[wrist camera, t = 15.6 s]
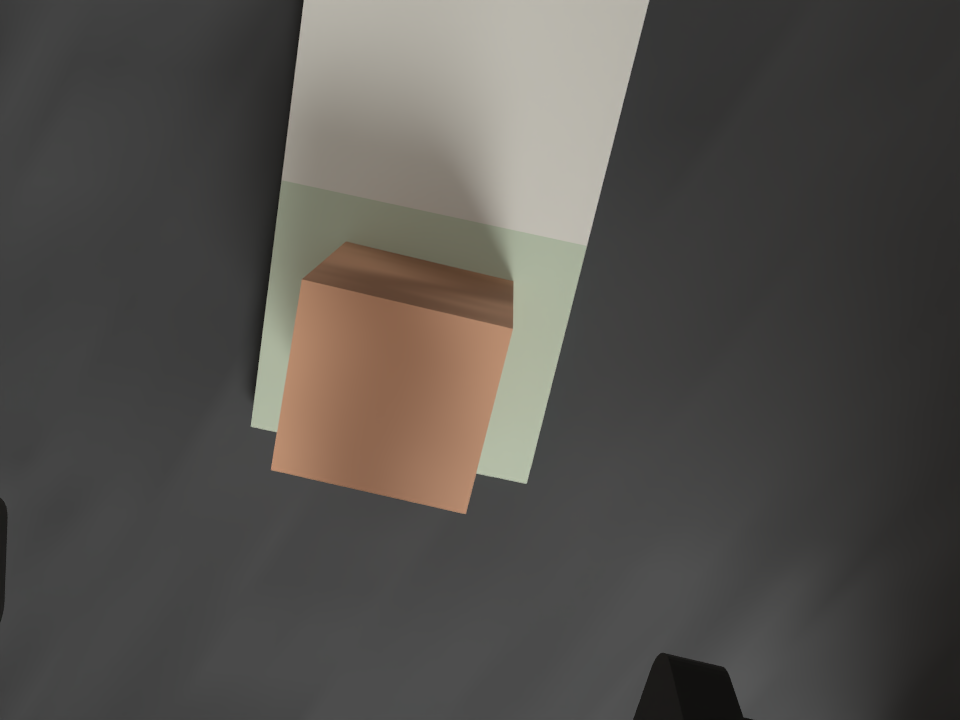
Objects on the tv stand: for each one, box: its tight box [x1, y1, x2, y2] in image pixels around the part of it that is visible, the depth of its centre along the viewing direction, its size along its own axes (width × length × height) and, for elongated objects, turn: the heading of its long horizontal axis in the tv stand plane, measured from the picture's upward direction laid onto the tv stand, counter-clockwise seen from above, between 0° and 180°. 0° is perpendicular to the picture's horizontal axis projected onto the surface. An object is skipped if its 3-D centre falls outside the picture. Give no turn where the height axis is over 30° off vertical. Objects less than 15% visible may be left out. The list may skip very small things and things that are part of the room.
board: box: [251, 0, 649, 484], centre depth 21 cm, size 8×14×1 cm, turn 168°
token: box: [271, 242, 514, 514], centre depth 19 cm, size 4×4×4 cm
